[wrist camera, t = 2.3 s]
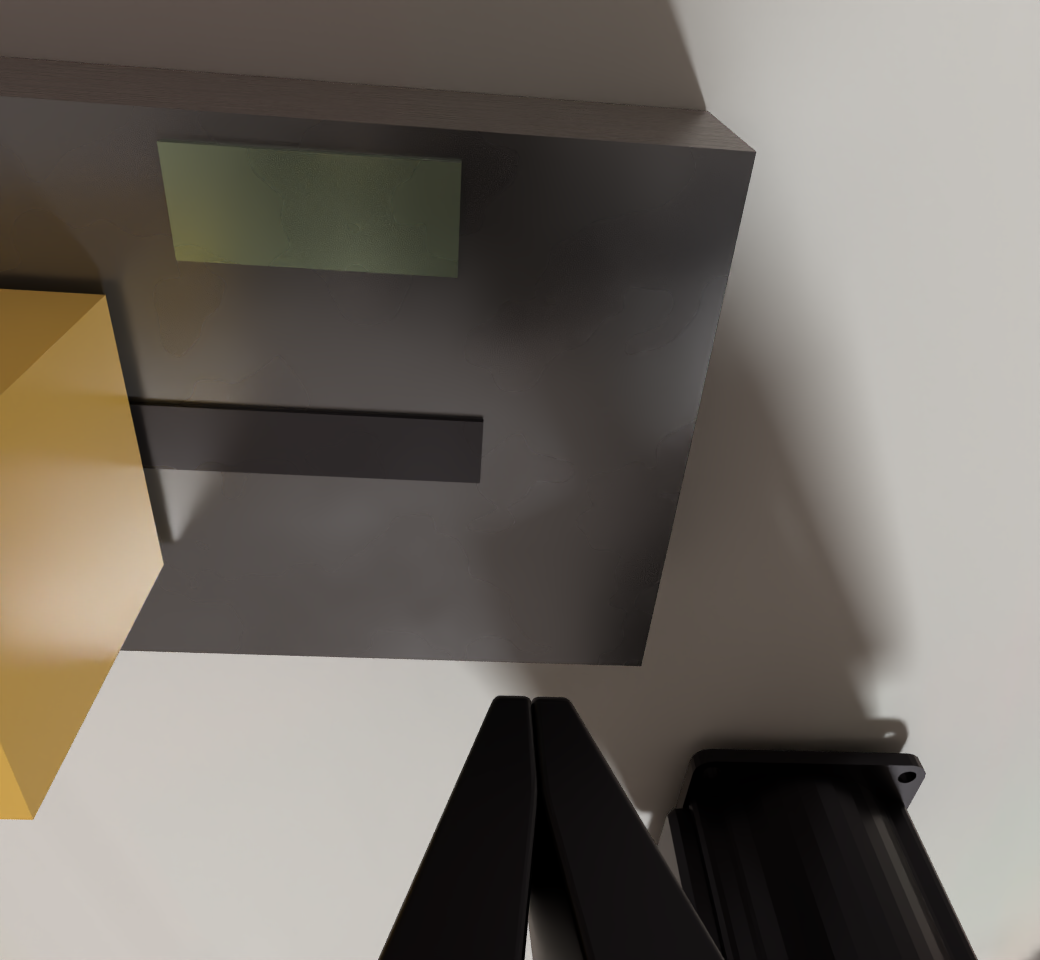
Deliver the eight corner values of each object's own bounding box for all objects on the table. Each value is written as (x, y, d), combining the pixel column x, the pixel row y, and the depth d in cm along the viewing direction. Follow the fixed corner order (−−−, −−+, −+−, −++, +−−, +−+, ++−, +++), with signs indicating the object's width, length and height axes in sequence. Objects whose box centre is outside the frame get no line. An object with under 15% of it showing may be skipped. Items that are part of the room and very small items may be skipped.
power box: (707, 110, 14) (757, 153, 11) (621, 570, 19) (641, 669, 17) (-745, -1, 12) (-1075, 18, 10) (-383, 532, 18) (-531, 634, 15)
